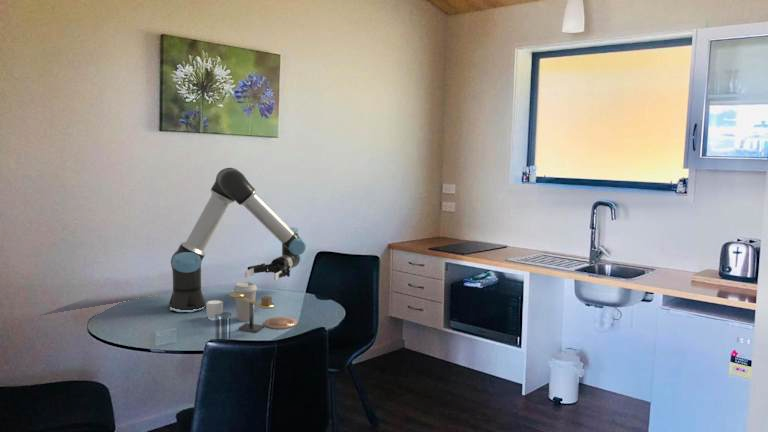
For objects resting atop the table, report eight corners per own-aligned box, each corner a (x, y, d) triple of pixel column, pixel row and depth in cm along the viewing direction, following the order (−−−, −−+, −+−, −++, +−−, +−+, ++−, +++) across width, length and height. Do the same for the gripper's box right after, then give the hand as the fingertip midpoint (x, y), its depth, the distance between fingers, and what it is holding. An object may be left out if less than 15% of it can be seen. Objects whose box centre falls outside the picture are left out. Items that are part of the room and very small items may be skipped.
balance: (226, 328, 245) (226, 294, 243) (233, 323, 251) (233, 291, 249) (269, 334, 240) (270, 300, 238) (276, 329, 246) (277, 296, 244)
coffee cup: (251, 323, 252) (251, 288, 249) (229, 321, 254) (229, 285, 251) (260, 316, 261) (260, 282, 259) (239, 314, 263) (239, 280, 260)
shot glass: (226, 317, 258) (226, 301, 257) (215, 322, 252) (215, 305, 251) (213, 314, 261) (213, 298, 260) (202, 319, 255) (202, 303, 254)
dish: (258, 326, 249) (258, 324, 248) (273, 317, 261) (273, 315, 261) (288, 330, 245) (288, 328, 245) (301, 320, 258) (301, 319, 257)
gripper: (306, 275, 284) (287, 287, 264) (257, 270, 290) (234, 281, 270) (306, 259, 283) (287, 269, 262) (256, 254, 289) (234, 265, 269)
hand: (260, 276), depth 266 cm, fingers open, 13 cm apart
